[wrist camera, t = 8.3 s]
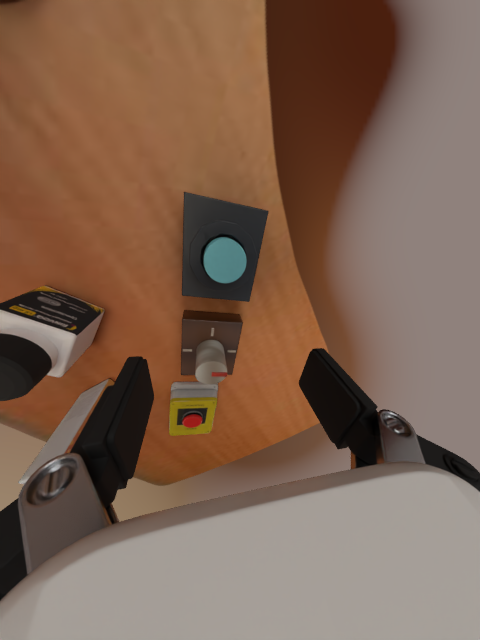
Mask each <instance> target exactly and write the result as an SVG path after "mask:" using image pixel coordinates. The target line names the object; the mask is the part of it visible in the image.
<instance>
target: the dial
mask: <svg viewBox="0 0 480 640" xmlns="http://www.w3.org/2000/svg"><path fill="white" fill-rule="evenodd" d="M195 376H196V378H197V380H198V381H199V382H201V383H203V384H209V385H210V384H216V383H219V382H221V381H222V380H223V379H224V378H225V377H227V366H226V360H225V353H224V348H223V345H222V344H221V343H220V342H218V341H216V340H206V341H203V342H202V343H200V344H199V345H198V347H197V350H196V368H195Z"/></svg>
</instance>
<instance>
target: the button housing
mask: <svg viewBox="0 0 480 640" xmlns="http://www.w3.org/2000/svg"><path fill="white" fill-rule="evenodd" d="M267 216H268V211H266V210H262V209H257V208H253V207H249V206H244V205H240V204H235V203H231V202H226V201H222V200H218V199H213V198H209V197H204V196H200V195H196V194H191V193H187V192H184V223H183V271H182V295H183V296H193V297H204V298H215V299H225V300H236V301H247V302H249V301H250V296H251V291H252V286H253V282H254V277H255V272H256V268H257V263H258V258H259V253H260V249H261V244H262V239H263V234H264V230H265V225H266V220H267ZM220 237H227V238H230V239H232V240H234V241H235V242H237V243H238V244H239V245H240V246H241V247H242V248H243V250H244V252H245V254H246V268H245V271H244V273H243V274H242V276H241V277H240V278H238V279H237V280H236V281H234V282H231V283H219V282H217V281H215V280H213V279H212V278H211V277H210V276H209V275H208V274H207V272H206V270H205V268H204V251H205V249H206V247H207V245H208V244H209V243H210V242H211V241H212V240H214V239H216V238H220Z"/></svg>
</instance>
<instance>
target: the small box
mask: <svg viewBox="0 0 480 640" xmlns="http://www.w3.org/2000/svg"><path fill="white" fill-rule="evenodd" d="M114 383H115V382H113V381H112V380H111V379H107V380H105V381H104V382H102V383H100V384H98V385H96V386H94V387H92V388H90V389H89V390H87V391H85V392H83V393H82V394H81V395H80V396H79V398H78V399H77V400H76V402H75V403H74V405H73V406H72V407H71V409H70V410H69V412H68V413H67V414H66V416H65V417H64V419H63V420H62V421H61V423H60V424H59V426H58V427H57V429H56V430H55V431H54V433H53V434H52V436H51V437H50V438H49V440H48V441H47V443H46V444H45V445H44V447H43V448H42V450H41V451H40V453H39V454H38V455H37V457H36V458H35V460H34V461H33V462H32V464H31V465H30V467H29V468H28V469H27V471H26V472H25V473H24V475H23V476H22V478H21V479H20V480H19V482H18V483H21V484H25V483H26V481H27V480H28V479H29V477H30V476H31V475H32V474H33V473H34V472H35V471H36V470H37V469H38V468H39V467H41V466H42V465H43V464H45V463H46V462H47V461H49V460H51V459H53V458H55V457H56V456H59V455H62V454H65V453H70V451H71V449H72V447H73V445H74V444H75V442H76V440H77V438H78V437H79V435H80V433H81V431H82V429H83V428H84V426H85V424H86V422H87V421H88V419H89V417H90V415H91V413H92V412H93V410H94V408H95V406H96V405H97V403H98V401H99V399H100V397H101V396H102V394H103V392H104V390H105V389H106V388H107V387H108V386H110V385H114Z"/></svg>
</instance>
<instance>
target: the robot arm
mask: <svg viewBox="0 0 480 640" xmlns="http://www.w3.org/2000/svg"><path fill="white" fill-rule="evenodd" d="M299 386H300V388H301V390H302V392H303V393H304V395H305V397H306V399H307V400H308V402H309V404H310V406H311V407H312V409H313V411H314V412H315V414H316V416H317V418H318V419H319V421H320V423H321V424H322V426H323V428H324V430H325V432H326V433H327V435H328V437H329V438H330V440H331V441H332V442H333V443H335V445H336V447H337V449H342V448H347V447H349V449H350V450H351V469H350V470H346V471H341V472H336V473H331V474H326V475H322V476H317V477H313V478H307V479H303V480H298V481H293V482H289V483H284V484H279V485H275V486H270V487H265V488H261V489H256V490H251V491H247V492H242V493H238V494H233V495H228V496H224V497H220V498H215V499H210V500H206V501H201V502H197V503H192V504H187V505H183V506H179V507H175V508H171V509H167V510H162V511H158V512H154V513H150V514H146V515H142V516H139V517H135V518H132V519H128V520H125V521H121V522H119V520H118V518H117V515H116V513H115V510H114V508H113V506H112V504H111V503H112V502H113V501H114V499H115V496H116V493H117V490H118V489H124V488H126V485H127V481H128V479H131V478H132V477H133V475H134V472H135V468H136V464H137V461H138V457H139V453H140V449H141V445H142V442H143V438H144V434H145V430H146V426H147V423H148V419H149V415H150V411H151V408H152V404H153V400H154V393H153V388H152V383H151V378H150V374H149V369H148V364H147V360H146V359H143V358H142V357H129V358H128V359H127V360H126V362H125V364H124V366H123V368H122V370H121V372H120V374H119V376H118V378H117V380H116V381H115V383H114V385H110V386H108V387H107V388H106V389H105V390H104V392H103V394H102V396H101V397H100V399H99V401H98V403H97V405H96V406H95V408H94V410H93V412H92V413H91V415H90V417H89V419H88V421H87V422H86V424H85V426H84V428H83V429H82V431H81V433H80V435H79V437H78V438H77V440H76V442H75V444H74V445H73V447H72V449H71V451H70V453H65V454H62V455H59V456H56V457H55V458H53V459H51V460H49V461H47V462H46V463H45V464H43V465H42V466H41V467H39V468H38V469H37V470H36V471H35V472H34V473H33V474H32V475H31V476H30V477H29V479H28V480H27V481H26V483H25V484H24V486H23V488H22V490H21V492H20V494H19V498H18V499H16V500H15V501H14V502H12V503H11V504H10V505H8V506H7V507H6V508H4V509H3V510H2V511H0V640H480V473H479V472H478V471H477V470H476V469H475V468H474V467H473V466H472V465H471V464H470V463H468V462H467V461H466V460H464V459H463V458H461V457H459V456H458V455H456V454H454V453H452V452H450V451H448V450H446V449H444V448H442V447H440V446H438V445H436V444H434V443H432V442H430V441H428V440H426V439H424V438H422V437H420V436H418V435H416V433H415V431H414V429H413V427H412V426H411V425H410V423H409V422H407V421H406V420H405V419H404V418H403V417H401V416H400V415H399V414H397V413H395V412H393V411H389V410H380V411H379V412H377V411H376V408H377V406H376V404H374V402H373V401H372V400H371V399H370V398H369V397H368V396H367V395H366V394H365V393H364V392H363V390H362V389H361V388H360V387H359V386H358V385H357V384H356V383H355V382H354V381H353V380H352V379H351V378H350V376H349V375H348V374H347V373H346V372H345V371H344V370H343V369H342V368H341V367H340V366H339V365H338V363H337V362H336V361H335V360H334V359H333V358H332V357H331V356H330V355H329V354H328V353H327V352H326V350H324V349H323V348H320V349H313V350H312V351H311V352H310V353H309V356H308V359H307V361H306V364H305V367H304V369H303V372H302V375H301V377H300V380H299Z"/></svg>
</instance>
